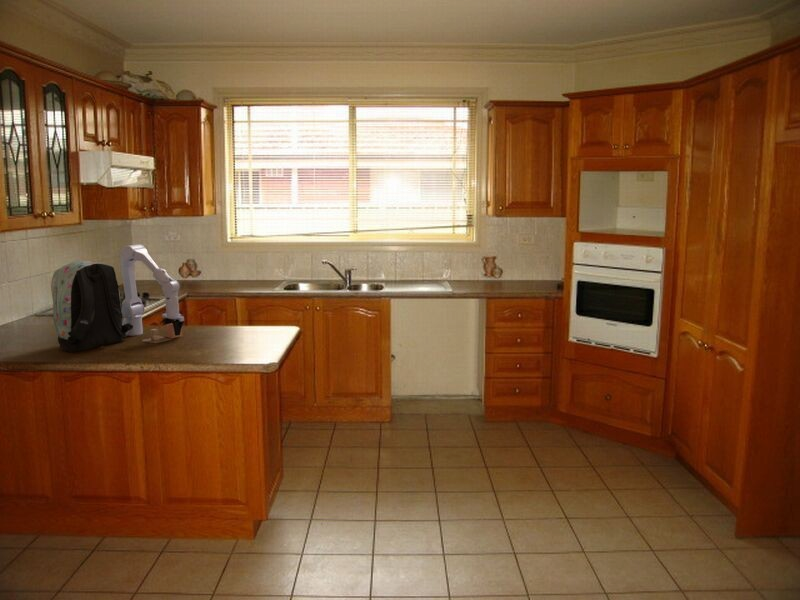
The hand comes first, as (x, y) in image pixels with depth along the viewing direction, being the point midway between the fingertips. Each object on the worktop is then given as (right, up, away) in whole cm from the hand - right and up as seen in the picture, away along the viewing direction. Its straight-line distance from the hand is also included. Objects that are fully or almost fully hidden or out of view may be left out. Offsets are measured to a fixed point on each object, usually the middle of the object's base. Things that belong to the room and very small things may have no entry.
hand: (174, 334), depth 313 cm
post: (-6, -2, -7) cm, 10 cm away
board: (-6, -3, -6) cm, 9 cm away
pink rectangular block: (0, -2, 0) cm, 2 cm away
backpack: (-34, -5, -12) cm, 37 cm away
